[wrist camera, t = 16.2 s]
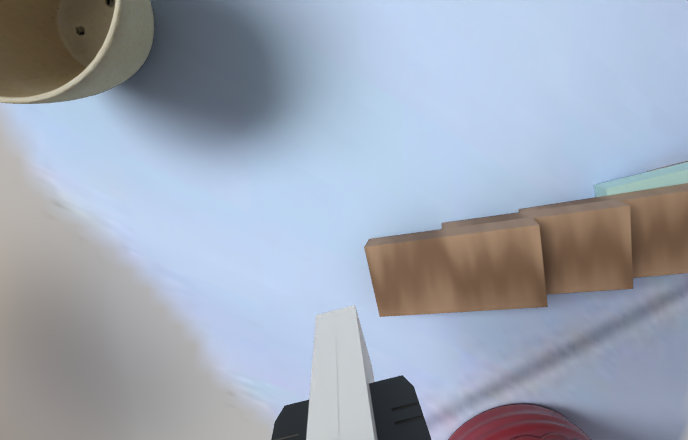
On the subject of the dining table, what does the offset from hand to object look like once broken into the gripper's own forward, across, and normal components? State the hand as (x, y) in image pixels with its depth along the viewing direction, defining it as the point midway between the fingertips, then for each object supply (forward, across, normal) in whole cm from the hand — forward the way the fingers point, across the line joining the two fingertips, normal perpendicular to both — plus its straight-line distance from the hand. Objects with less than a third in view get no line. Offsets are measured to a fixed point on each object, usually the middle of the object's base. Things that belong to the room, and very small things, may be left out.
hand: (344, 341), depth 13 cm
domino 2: (+10, +7, -2) cm, 12 cm away
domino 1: (+10, +2, -2) cm, 10 cm away
